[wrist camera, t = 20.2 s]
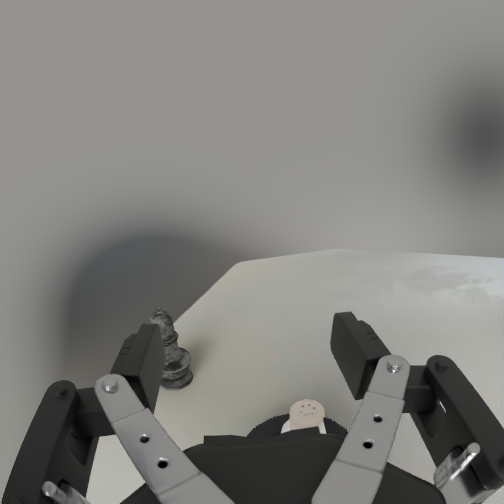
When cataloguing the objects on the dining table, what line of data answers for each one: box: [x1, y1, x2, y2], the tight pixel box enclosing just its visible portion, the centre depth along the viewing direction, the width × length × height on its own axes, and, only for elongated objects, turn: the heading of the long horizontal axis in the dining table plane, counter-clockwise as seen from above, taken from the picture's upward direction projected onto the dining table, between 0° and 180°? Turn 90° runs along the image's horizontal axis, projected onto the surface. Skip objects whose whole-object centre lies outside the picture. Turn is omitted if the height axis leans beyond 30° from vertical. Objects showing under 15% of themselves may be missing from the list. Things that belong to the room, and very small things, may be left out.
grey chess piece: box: [150, 306, 193, 390], centre depth 36 cm, size 6×6×12 cm
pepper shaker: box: [281, 399, 326, 434], centre depth 22 cm, size 5×5×11 cm
